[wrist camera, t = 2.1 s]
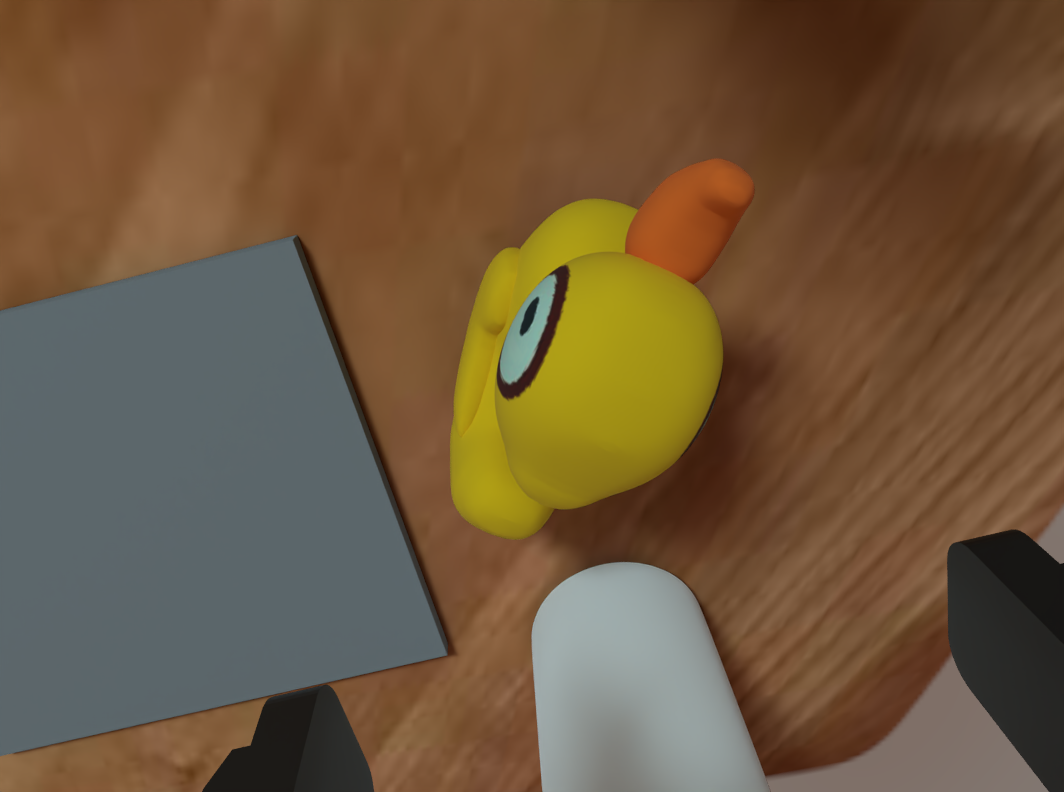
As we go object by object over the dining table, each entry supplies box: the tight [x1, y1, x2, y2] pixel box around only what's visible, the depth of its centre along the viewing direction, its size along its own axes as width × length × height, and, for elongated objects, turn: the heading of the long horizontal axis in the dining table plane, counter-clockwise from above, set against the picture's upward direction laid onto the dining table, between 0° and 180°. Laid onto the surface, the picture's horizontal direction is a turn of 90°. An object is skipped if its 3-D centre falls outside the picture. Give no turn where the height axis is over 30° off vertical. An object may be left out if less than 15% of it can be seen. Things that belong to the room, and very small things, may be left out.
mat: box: [0, 235, 448, 756], centre depth 26 cm, size 18×16×1 cm
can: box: [532, 562, 771, 792], centre depth 24 cm, size 6×6×12 cm
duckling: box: [450, 159, 755, 540], centre depth 20 cm, size 11×5×10 cm, turn 154°
